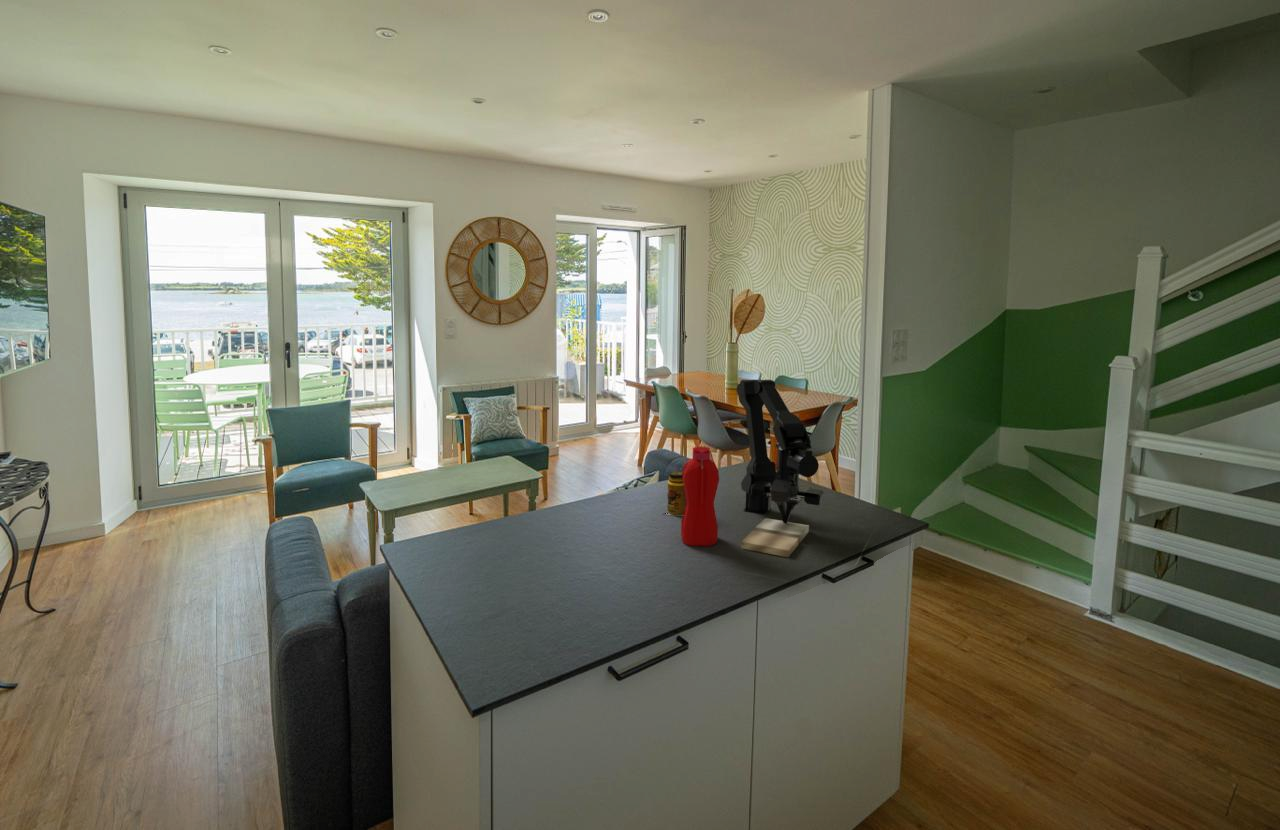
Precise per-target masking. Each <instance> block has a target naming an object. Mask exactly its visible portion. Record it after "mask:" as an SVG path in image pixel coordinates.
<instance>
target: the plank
mask: <svg viewBox="0 0 1280 830" xmlns="http://www.w3.org/2000/svg"><path fill="white" fill-rule="evenodd" d="M755 530H760V531H766V532H772V533H777V534H783V535H788V536H794V537H799V543H801V542H802V541H803V540H804V538H805V537H806V536H807V534H809V531H810V525H809V524H803V523H798V522H797V523H795V522H790V521H788V522H787V523H783V520H779V519H773V518H768V517H767V518H764V519H762V521H761V522H760V523H759V524H757V525H755Z"/></svg>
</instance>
